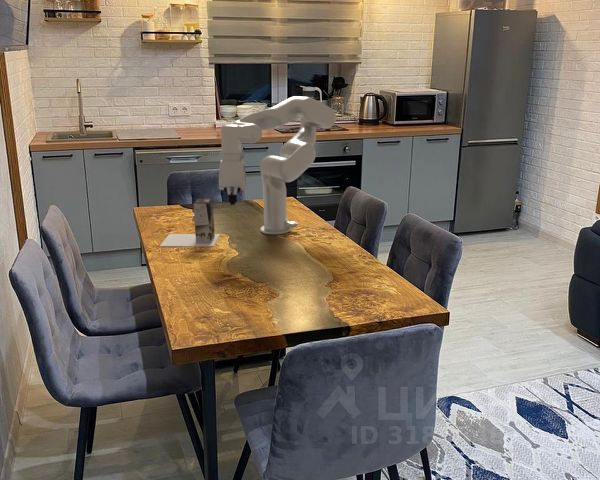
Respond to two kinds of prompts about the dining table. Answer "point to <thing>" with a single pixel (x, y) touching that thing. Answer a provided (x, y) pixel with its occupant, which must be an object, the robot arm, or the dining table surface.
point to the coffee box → (204, 220)
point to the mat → (186, 241)
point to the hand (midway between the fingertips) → (232, 204)
